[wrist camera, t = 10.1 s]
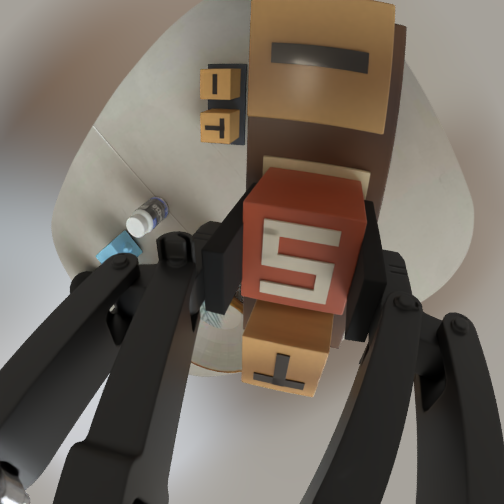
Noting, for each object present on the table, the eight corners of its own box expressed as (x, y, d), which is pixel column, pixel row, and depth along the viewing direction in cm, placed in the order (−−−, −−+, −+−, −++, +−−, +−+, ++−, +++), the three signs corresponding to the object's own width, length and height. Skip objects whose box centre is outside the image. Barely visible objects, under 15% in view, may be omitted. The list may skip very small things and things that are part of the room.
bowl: (152, 302, 74) (136, 323, 68) (200, 241, 60) (182, 265, 53) (231, 360, 78) (221, 384, 72) (297, 318, 64) (290, 346, 57)
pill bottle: (172, 216, 59) (150, 238, 52) (153, 219, 60) (130, 241, 53) (164, 194, 56) (139, 213, 50) (145, 198, 58) (120, 217, 51)
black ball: (114, 299, 79) (94, 323, 71) (87, 285, 80) (66, 307, 72) (111, 272, 73) (88, 296, 65) (82, 258, 74) (59, 280, 66)
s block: (269, 166, 15) (241, 202, 11) (361, 180, 14) (367, 222, 10) (264, 244, 17) (239, 297, 14) (345, 259, 16) (342, 317, 13)
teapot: (135, 221, 62) (115, 239, 56) (153, 243, 64) (134, 263, 58) (108, 243, 68) (89, 261, 62) (124, 263, 70) (107, 282, 64)
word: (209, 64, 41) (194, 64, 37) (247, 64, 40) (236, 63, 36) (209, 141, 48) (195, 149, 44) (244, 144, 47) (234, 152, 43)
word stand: (312, 52, 37) (213, -14, 7) (362, 59, 35) (434, 7, 6) (302, 178, 48) (221, 380, 18) (346, 186, 46) (331, 404, 17)
